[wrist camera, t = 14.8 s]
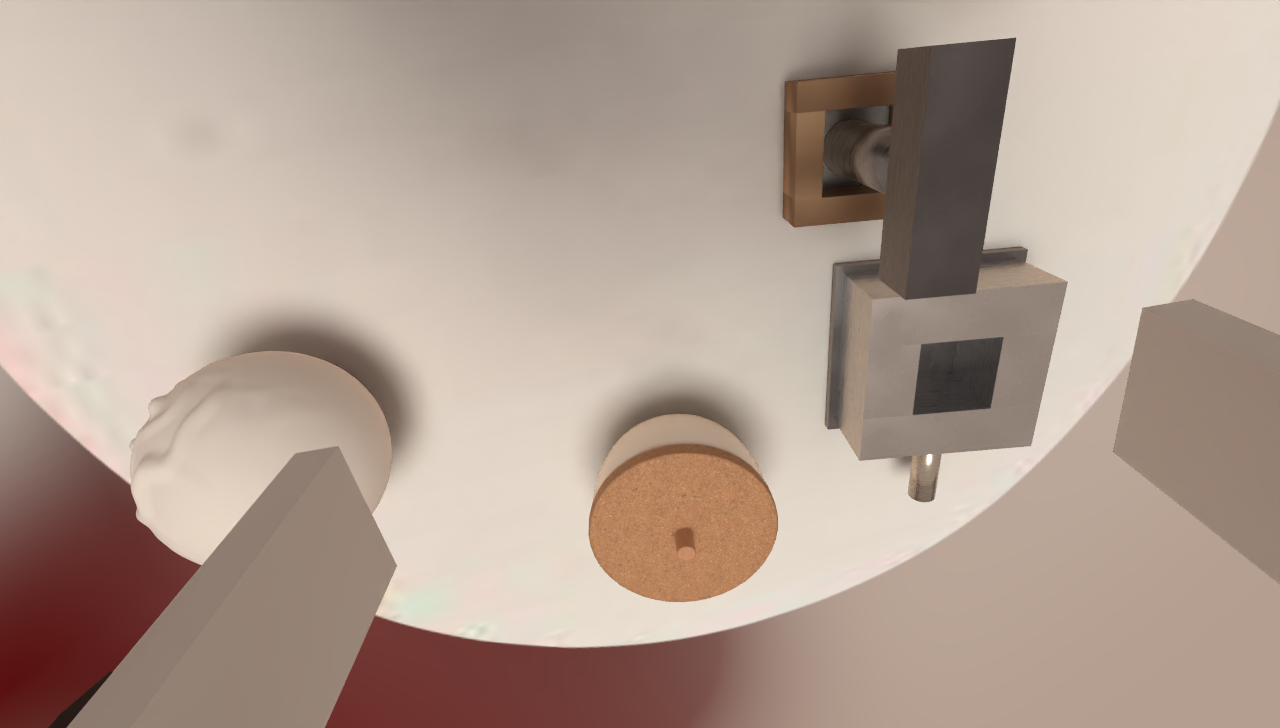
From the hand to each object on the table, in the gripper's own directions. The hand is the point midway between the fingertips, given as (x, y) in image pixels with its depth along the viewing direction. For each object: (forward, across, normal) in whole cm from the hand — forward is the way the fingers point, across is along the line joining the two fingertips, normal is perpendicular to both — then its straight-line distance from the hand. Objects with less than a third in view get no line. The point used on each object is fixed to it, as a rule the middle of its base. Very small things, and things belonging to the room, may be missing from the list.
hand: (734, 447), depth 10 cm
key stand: (+26, +10, 0) cm, 28 cm away
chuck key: (+26, +10, 0) cm, 28 cm away
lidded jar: (+26, -2, -18) cm, 31 cm away
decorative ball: (+26, -23, -10) cm, 36 cm away
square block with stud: (+25, +14, -15) cm, 33 cm away
